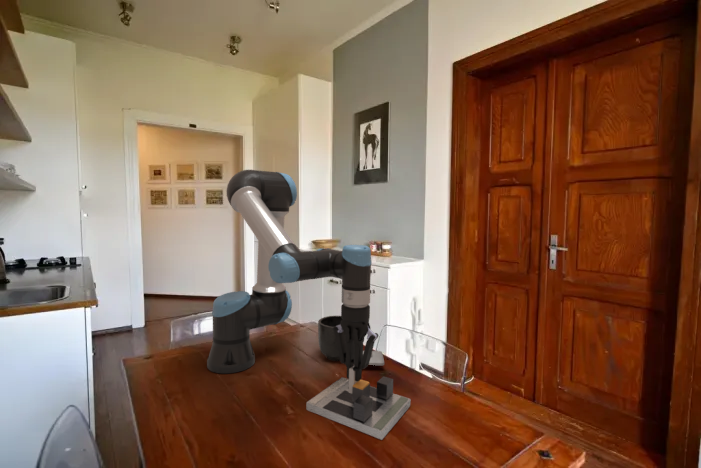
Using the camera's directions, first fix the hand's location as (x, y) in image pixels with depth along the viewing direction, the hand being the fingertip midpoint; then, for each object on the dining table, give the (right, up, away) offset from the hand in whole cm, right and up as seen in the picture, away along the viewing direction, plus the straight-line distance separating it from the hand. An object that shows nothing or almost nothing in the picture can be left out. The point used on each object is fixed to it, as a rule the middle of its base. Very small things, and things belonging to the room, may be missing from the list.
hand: (353, 391), depth 95 cm
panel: (+1, -4, -1) cm, 4 cm away
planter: (-6, -2, +32) cm, 32 cm away
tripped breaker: (+2, -2, -1) cm, 3 cm away
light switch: (+5, -3, +26) cm, 27 cm away
